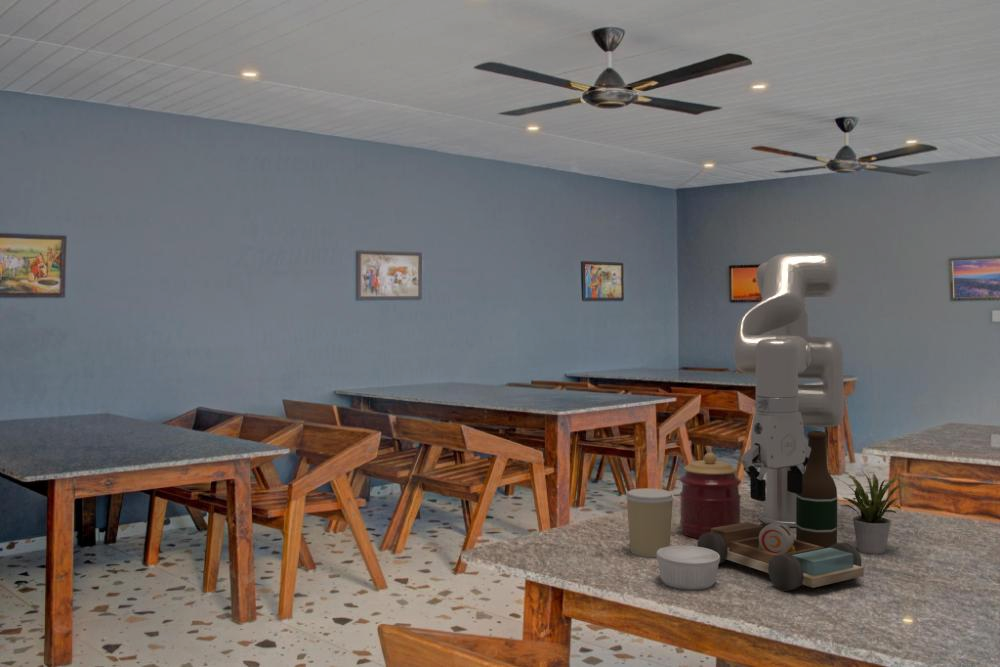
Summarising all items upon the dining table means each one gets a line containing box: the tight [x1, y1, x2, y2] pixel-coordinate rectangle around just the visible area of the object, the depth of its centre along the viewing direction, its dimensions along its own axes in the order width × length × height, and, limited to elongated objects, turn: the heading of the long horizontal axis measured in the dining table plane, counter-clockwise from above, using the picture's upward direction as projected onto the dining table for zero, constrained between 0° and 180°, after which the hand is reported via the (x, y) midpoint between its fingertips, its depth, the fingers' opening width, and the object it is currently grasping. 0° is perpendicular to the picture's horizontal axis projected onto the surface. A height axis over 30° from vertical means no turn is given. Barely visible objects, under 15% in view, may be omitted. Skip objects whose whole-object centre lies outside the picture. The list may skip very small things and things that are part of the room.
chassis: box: [696, 521, 865, 592], centre depth 165 cm, size 28×17×6 cm, turn 30°
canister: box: [679, 452, 742, 539], centre depth 192 cm, size 13×13×18 cm
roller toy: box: [759, 522, 795, 555], centre depth 165 cm, size 4×6×6 cm
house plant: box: [837, 470, 912, 555], centre depth 178 cm, size 14×14×16 cm
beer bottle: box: [795, 430, 838, 548], centre depth 179 cm, size 8×8×24 cm
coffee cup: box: [625, 487, 674, 558], centre depth 177 cm, size 9×9×12 cm
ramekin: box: [655, 545, 720, 591], centre depth 158 cm, size 11×11×5 cm
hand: (776, 496), depth 165 cm, fingers open, 9 cm apart
